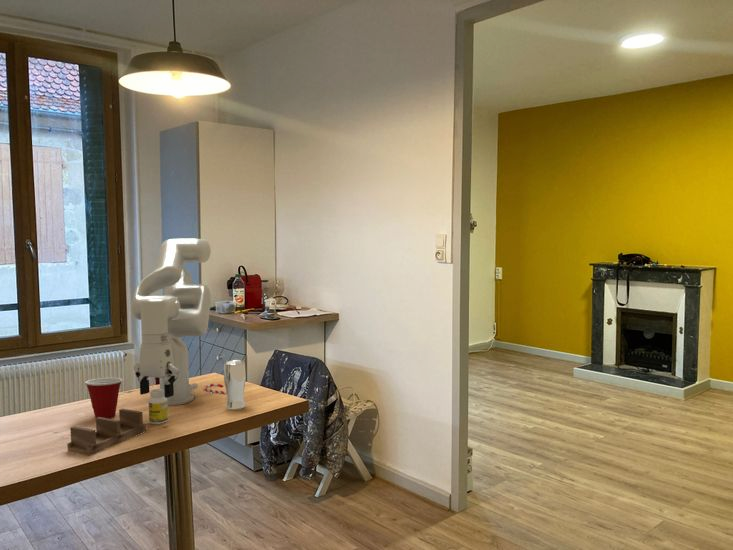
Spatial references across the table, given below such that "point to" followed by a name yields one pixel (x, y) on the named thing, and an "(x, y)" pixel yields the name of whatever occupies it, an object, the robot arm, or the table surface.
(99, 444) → the rack
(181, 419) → the table surface
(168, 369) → the robot arm
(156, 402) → the supplement bottle
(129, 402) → the table surface
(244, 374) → the beer glass
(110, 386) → the plastic cup
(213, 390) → the candy cane
